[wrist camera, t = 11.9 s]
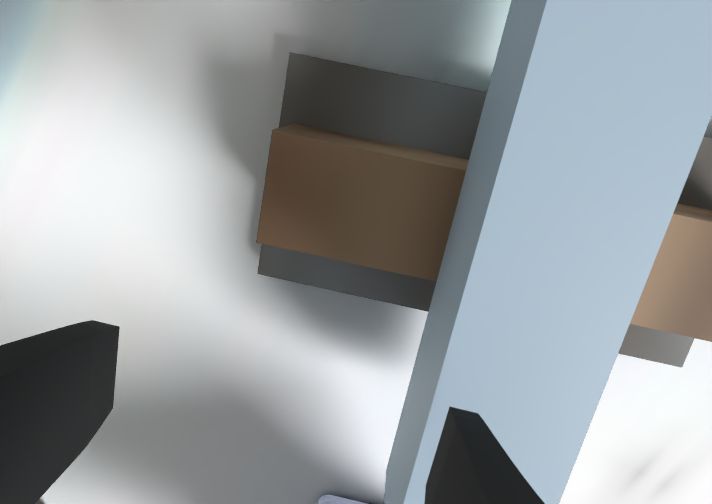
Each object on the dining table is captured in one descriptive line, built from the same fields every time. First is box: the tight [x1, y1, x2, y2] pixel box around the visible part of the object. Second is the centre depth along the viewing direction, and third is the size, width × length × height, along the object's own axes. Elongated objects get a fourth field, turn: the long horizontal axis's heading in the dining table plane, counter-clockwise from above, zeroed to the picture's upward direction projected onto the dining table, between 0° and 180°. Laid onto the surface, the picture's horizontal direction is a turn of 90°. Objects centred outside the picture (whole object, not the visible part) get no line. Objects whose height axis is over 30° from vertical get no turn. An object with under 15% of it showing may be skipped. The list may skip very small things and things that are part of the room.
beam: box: [384, 0, 712, 504], centre depth 14 cm, size 18×4×5 cm, turn 169°
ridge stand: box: [257, 53, 712, 367], centre depth 18 cm, size 16×8×4 cm, turn 79°
